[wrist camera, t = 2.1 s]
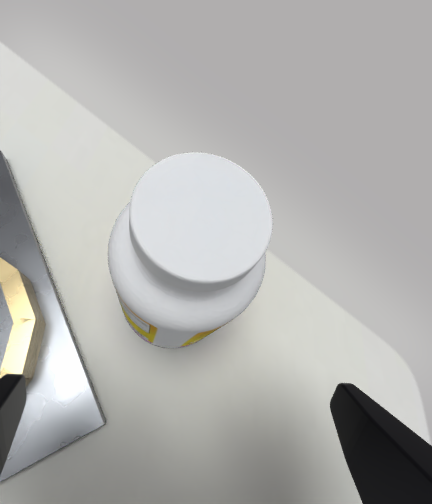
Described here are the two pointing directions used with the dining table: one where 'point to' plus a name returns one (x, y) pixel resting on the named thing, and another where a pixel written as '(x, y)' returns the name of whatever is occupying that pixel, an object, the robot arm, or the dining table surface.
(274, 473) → the dining table surface
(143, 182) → the supplement bottle
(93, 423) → the carrier plate
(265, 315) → the dining table surface
